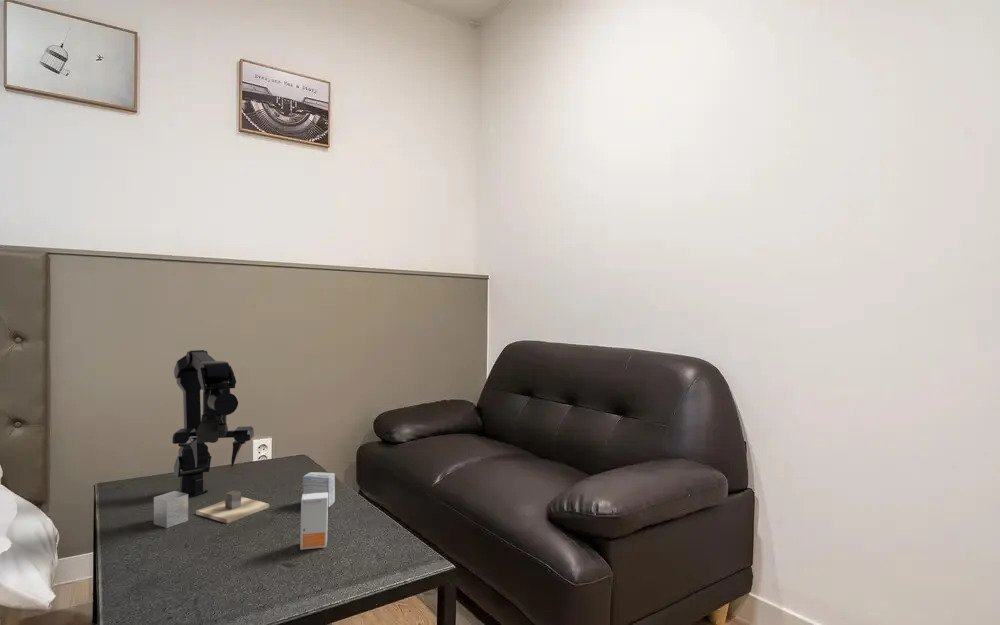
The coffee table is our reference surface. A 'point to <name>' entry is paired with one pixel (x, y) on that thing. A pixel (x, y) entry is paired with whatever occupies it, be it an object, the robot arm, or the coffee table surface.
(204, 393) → the robot arm
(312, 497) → the skincare box
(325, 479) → the medicine box
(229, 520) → the post board
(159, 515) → the grey block
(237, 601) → the coffee table surface
